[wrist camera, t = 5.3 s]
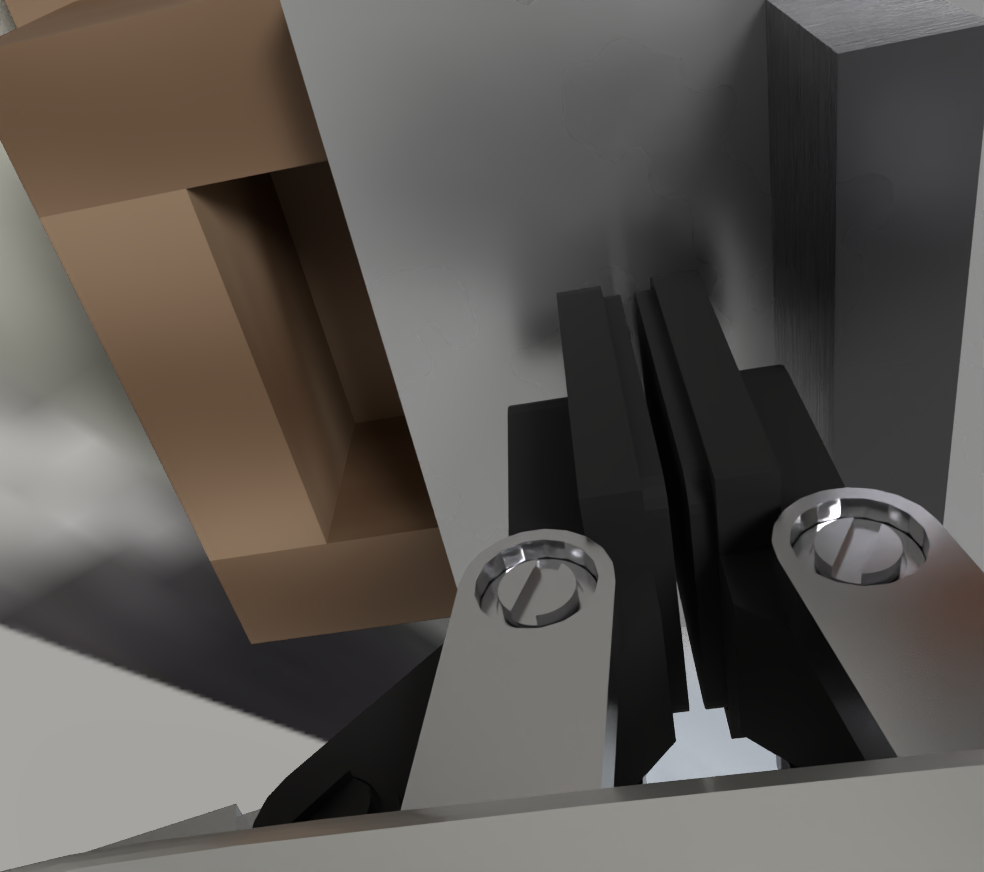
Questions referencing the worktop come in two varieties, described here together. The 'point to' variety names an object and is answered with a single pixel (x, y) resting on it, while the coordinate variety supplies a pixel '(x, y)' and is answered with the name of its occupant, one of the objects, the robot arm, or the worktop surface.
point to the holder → (228, 299)
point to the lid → (668, 213)
